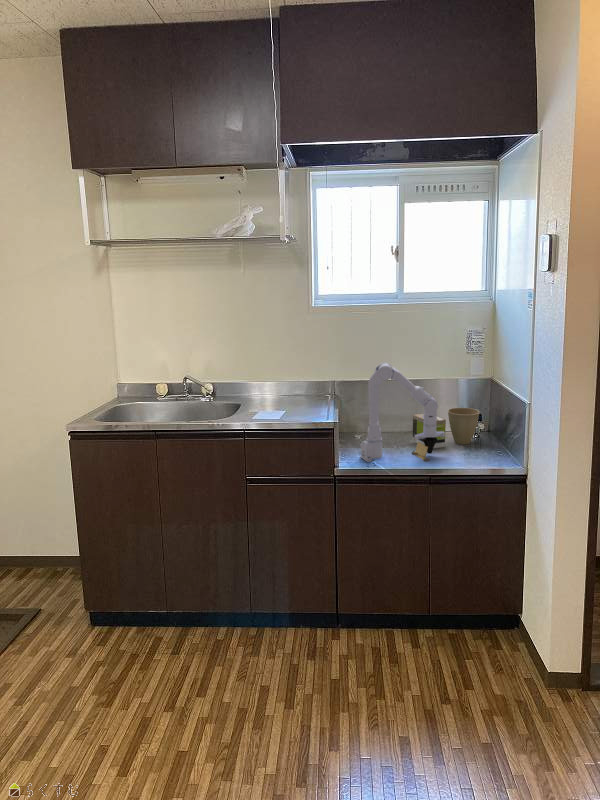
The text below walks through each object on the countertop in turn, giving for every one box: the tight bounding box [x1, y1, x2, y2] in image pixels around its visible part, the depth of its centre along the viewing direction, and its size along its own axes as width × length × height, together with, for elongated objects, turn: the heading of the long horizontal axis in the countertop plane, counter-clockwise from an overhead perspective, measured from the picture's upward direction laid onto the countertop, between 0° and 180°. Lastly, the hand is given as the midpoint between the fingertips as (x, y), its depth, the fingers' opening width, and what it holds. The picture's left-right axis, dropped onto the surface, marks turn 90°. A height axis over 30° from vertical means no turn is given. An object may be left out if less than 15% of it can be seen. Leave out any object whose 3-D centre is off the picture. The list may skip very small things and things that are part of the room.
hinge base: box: [411, 450, 431, 463], centre depth 276 cm, size 10×12×2 cm
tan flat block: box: [413, 442, 428, 461], centre depth 274 cm, size 7×8×2 cm
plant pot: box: [447, 407, 480, 445], centre depth 296 cm, size 15×15×16 cm
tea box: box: [412, 413, 447, 449], centre depth 293 cm, size 15×10×15 cm, turn 18°
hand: (429, 453), depth 276 cm, fingers closed
